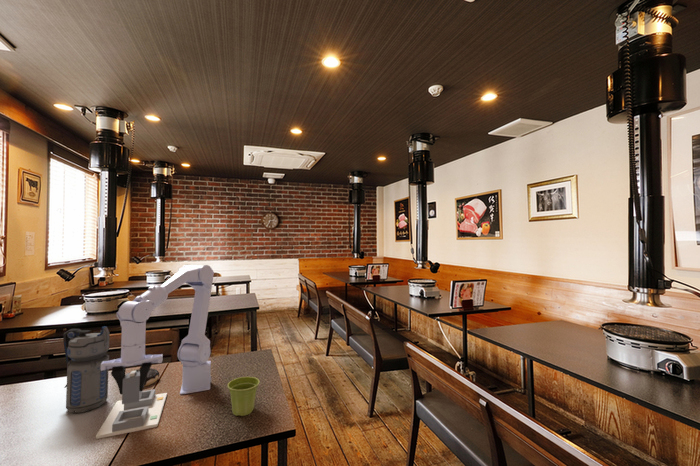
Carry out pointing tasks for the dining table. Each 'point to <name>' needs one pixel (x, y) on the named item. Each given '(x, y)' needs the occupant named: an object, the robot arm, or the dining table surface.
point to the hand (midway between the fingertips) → (132, 391)
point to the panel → (134, 415)
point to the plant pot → (243, 394)
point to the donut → (150, 376)
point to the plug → (131, 388)
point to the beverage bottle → (86, 369)
